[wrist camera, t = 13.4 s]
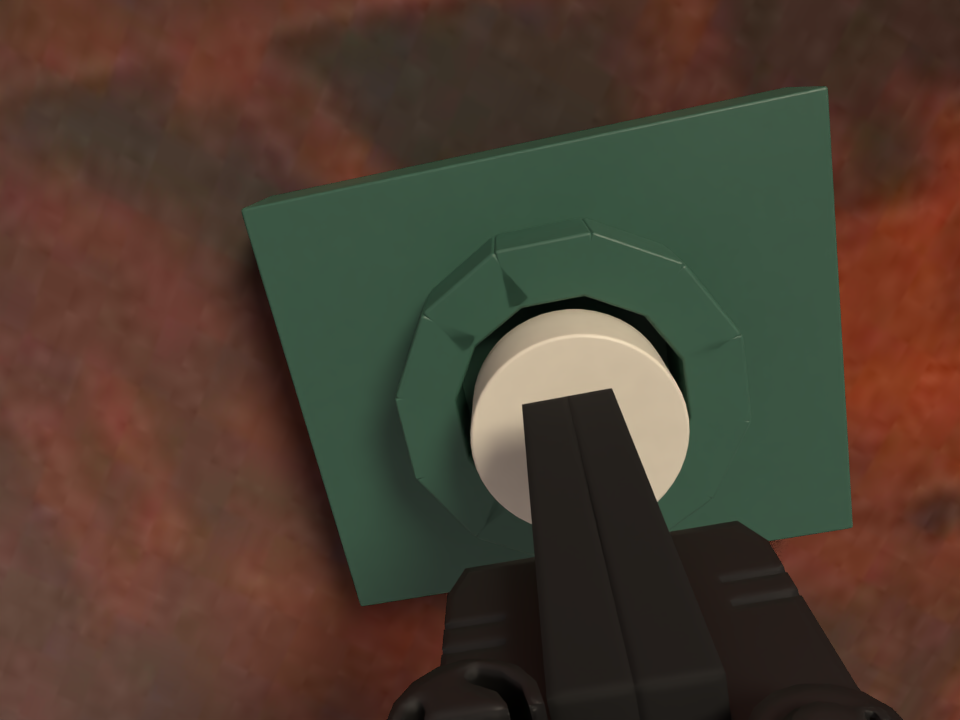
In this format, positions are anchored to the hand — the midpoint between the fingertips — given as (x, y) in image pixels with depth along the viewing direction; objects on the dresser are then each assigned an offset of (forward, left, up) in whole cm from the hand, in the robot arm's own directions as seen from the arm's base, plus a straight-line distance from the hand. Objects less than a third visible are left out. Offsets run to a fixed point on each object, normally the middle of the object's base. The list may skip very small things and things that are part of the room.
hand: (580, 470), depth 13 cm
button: (0, 0, -3) cm, 3 cm away
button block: (0, 0, -7) cm, 7 cm away
